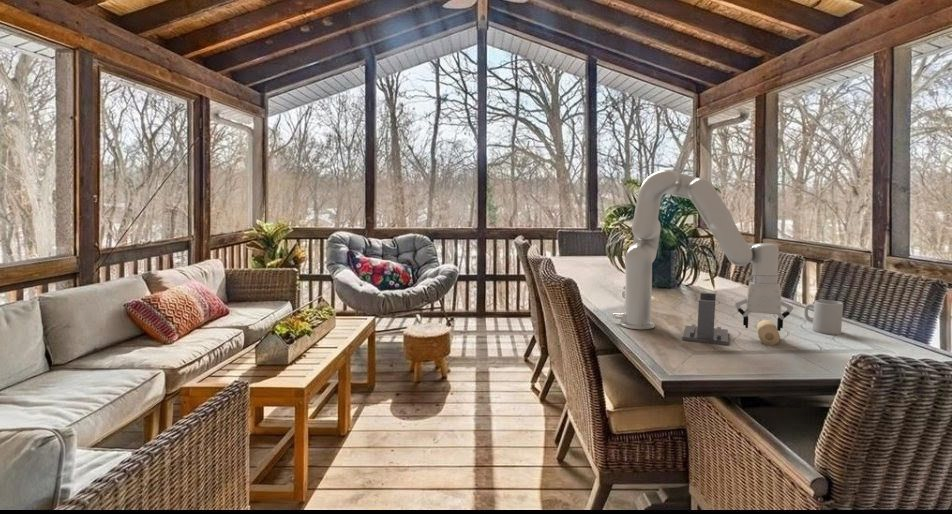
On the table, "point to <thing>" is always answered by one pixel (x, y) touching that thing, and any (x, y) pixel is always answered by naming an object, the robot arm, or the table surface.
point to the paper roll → (768, 332)
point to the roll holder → (706, 323)
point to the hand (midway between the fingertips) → (762, 328)
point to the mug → (826, 316)
